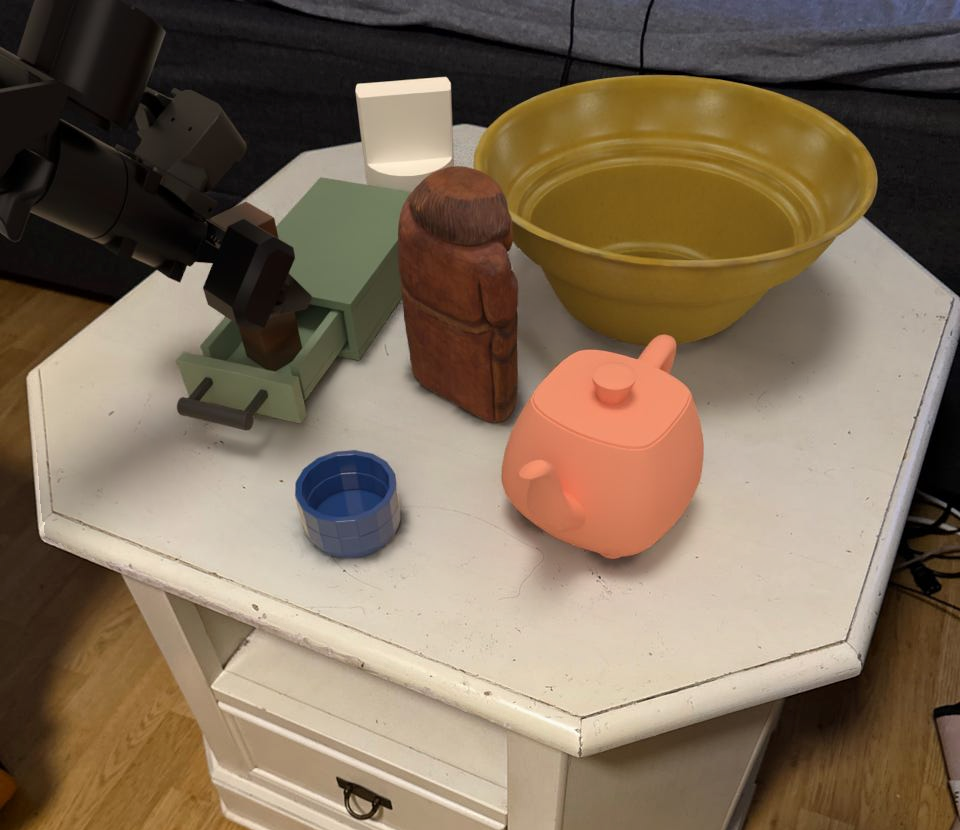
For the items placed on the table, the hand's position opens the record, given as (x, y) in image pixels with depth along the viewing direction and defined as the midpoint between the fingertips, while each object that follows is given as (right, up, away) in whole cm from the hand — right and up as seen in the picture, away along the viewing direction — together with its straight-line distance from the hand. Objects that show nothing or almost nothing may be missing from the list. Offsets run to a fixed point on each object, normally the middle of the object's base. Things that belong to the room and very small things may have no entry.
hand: (272, 279), depth 69 cm
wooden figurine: (+16, -7, +5) cm, 18 cm away
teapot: (+25, -19, -4) cm, 32 cm away
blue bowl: (+7, -20, -4) cm, 22 cm away
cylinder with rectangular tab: (+10, +16, +22) cm, 29 cm away
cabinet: (+4, +4, +14) cm, 15 cm away
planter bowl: (+32, +3, +12) cm, 35 cm away
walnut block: (-1, -5, +5) cm, 7 cm away
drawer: (-1, -5, +6) cm, 8 cm away
